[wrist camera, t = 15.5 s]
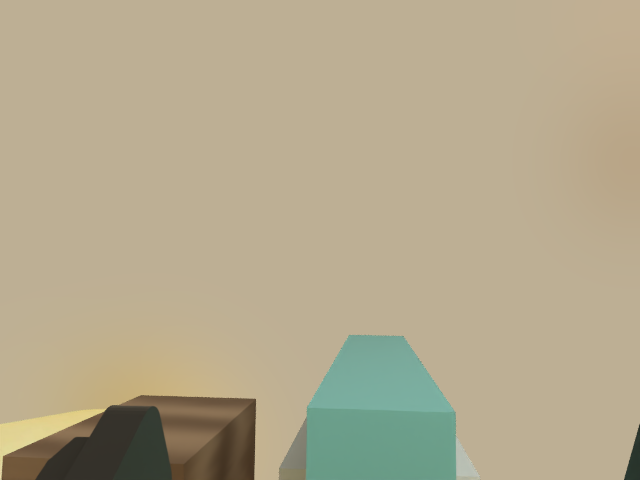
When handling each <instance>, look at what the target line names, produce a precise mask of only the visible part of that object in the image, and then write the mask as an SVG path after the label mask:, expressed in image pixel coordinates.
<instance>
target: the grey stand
mask: <svg viewBox="0 0 640 480" xmlns="http://www.w3.org/2000/svg"><path fill="white" fill-rule="evenodd" d="M306 444H307V417H306V419H305V421H304V423H303V425H302V427H301V428H300V430H299V432H298V434H297V436H296V438H295V440H294V442H293V443H292V445H291V447H290V449H289V451H288V453H287V455H286V457H285V458H284V460H283V462H282V464H281V466H280V468H279V480H306ZM456 480H480V476H479V474H478V473H477V471H476V469H475V468H474V466H473V464H472V462H471V461H470V459H469V457H468V455H467V454H466V452H465V450H464V448H463V447H462V445H461V443H460V442H459V440H458V438H457V437H456Z"/></svg>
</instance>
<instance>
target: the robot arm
mask: <svg viewBox="0 0 640 480" xmlns="http://www.w3.org/2000/svg"><path fill="white" fill-rule="evenodd" d="M35 480H172V472H171V466H170V461H169V456H168V451H167V446H166V441H165V436H164V432H163V427H162V422H161V417H160V413H159V410H158V409H157V407H155V406H124V405H112V406H110V407H108V408H107V409H106V410H105V412H104V413H103V415H102V417H101V418H100V420H99V422H98V423H97V425H96V427H95V428H94V430H93V432H92V433H91V435H90V437H75V438H73V439H72V440H71V441H70V442H69V443H68V444H66V445H65V446H64V447H63V448H62V449H61V450H60V451H58V452H57V453H56V454H55V455H54V456H53V457H51V458H50V459H49V460H48V461H47V462H46V464H45V465H44V467H43V468H42V470H41V472H40V473H39V475H38V476H37V478H36V479H35ZM624 480H640V425H639V428H638V432H637V436H636V439H635V442H634V446H633V450H632V453H631V457H630V460H629V464H628V467H627V471H626V475H625V479H624Z"/></svg>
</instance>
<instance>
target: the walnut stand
mask: <svg viewBox="0 0 640 480" xmlns="http://www.w3.org/2000/svg"><path fill="white" fill-rule="evenodd" d="M121 405H124V406H155V407H157V409H158V410H159V413H160V417H161V422H162V427H163V432H164V436H165V441H166V446H167V451H168V456H169V461H170V466H171V472H172V480H254V465H255V464H254V463H255V419H256V418H255V417H256V399H241V398H240V399H239V398H210V397H208V398H207V397H177V396H144V395H141V396H138V397H136V398H134V399H132V400H129V401H127V402H125V403H123V404H121ZM104 412H105V411H104ZM104 412H102V413H100V414H98V415H95V416H93V417H91V418H89V419H86V420H84V421H82V422H80V423H77V424H75V425H73V426H71V427H68V428H66V429H64V430H61V431H59V432H57V433H55V434H52V435H50V436H48V437H46V438H43V439H41V440H39V441H37V442H34V443H32V444H30V445H27V446H25V447H23V448H21V449H18V450H16V451H14V452H12V453H9V454H7V455H5V456H3V465H2V480H35V479H36V478H37V476H38V475H39V473H40V472H41V470H42V468H43V467H44V465H45V464H46V462H47V461H48V460H49V459H50V458H51V457H53V456H54V455H55V454H56V453H57V452H58V451H60V450H61V449H62V448H63V447H64V446H65V445H66V444H68V443H69V442H70V441H71V440H72V439H73V438H75V437H90V435H91V433H92V432H93V430H94V428H95V427H96V425H97V423H98V422H99V420H100V418H101V417H102V415H103V413H104Z"/></svg>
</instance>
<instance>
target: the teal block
mask: <svg viewBox="0 0 640 480" xmlns="http://www.w3.org/2000/svg"><path fill="white" fill-rule="evenodd" d="M306 480H456V415H455V411H454V410H453V408H452V407H451V405H450V404H449V402H448V401H447V399H446V398H445V397H444V395H443V394H442V392H441V391H440V389H439V388H438V386H437V385H436V383H435V382H434V380H433V379H432V378H431V376H430V375H429V373H428V372H427V370H426V369H425V368H424V366H423V364H422V363H421V361H420V360H419V358H418V357H417V356H416V354H415V353H414V351H413V350H412V348H411V347H410V345H409V344H408V342H407V341H406V340H405V338H404V336H372V335H349V336H348V338H347V340H346V341H345V343H344V345H343V347H342V348H341V350H340V352H339V354H338V355H337V357H336V359H335V360H334V362H333V364H332V366H331V367H330V369H329V371H328V372H327V374H326V376H325V378H324V379H323V381H322V383H321V385H320V386H319V388H318V390H317V391H316V393H315V395H314V397H313V398H312V400H311V402H310V404H309V405H308V407H307V444H306Z"/></svg>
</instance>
